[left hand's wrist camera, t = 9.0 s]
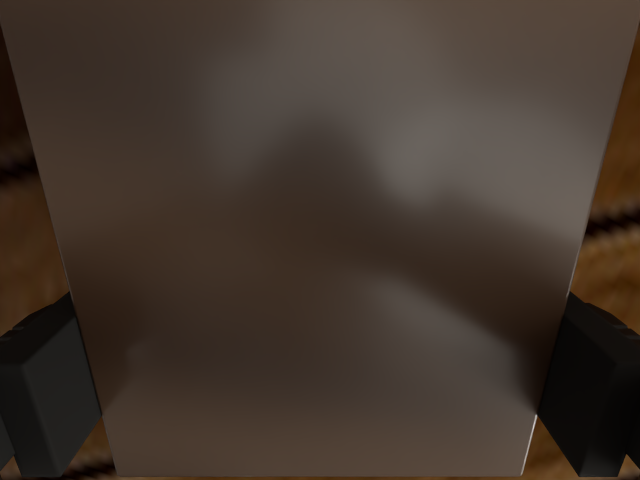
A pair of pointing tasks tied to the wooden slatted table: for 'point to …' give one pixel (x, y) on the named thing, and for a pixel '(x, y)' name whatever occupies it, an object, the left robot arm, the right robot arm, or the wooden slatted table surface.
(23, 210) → the wooden slatted table surface
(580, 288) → the wooden slatted table surface
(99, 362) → the cabinet
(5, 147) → the wooden slatted table surface
